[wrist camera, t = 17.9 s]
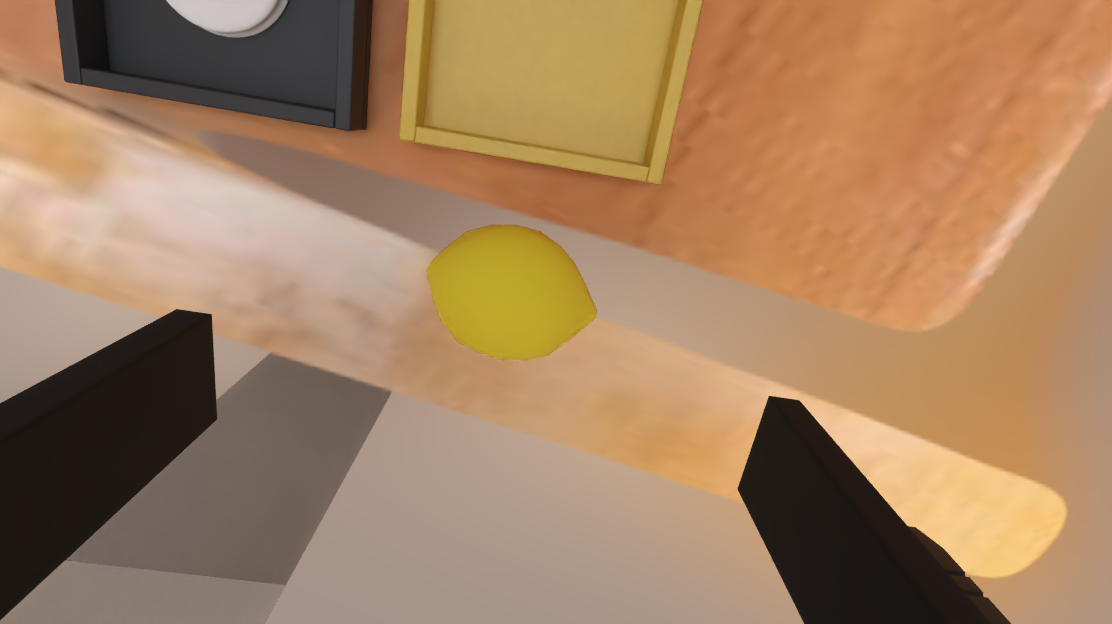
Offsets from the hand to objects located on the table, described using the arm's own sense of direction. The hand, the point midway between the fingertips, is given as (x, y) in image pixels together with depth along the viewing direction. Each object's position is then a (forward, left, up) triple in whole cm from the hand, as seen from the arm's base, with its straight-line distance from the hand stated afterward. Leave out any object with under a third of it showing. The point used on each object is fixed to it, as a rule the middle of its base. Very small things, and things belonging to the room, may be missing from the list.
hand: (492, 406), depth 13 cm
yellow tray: (0, +10, -12) cm, 16 cm away
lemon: (0, 0, -12) cm, 12 cm away
